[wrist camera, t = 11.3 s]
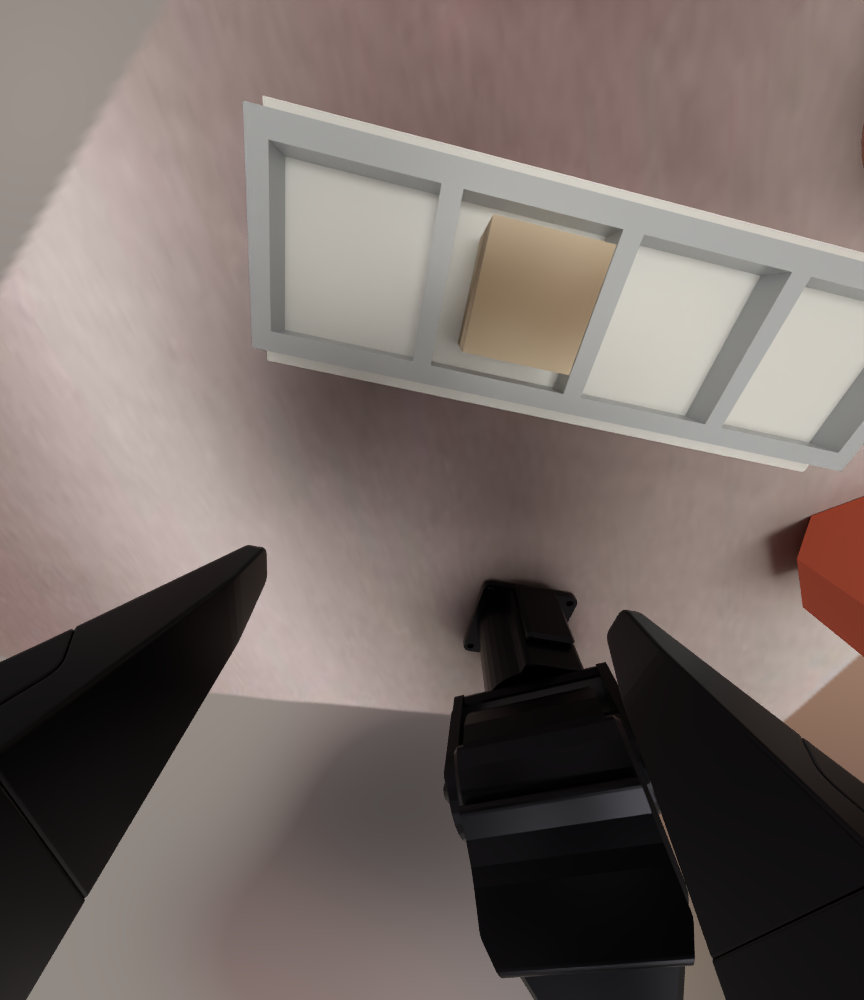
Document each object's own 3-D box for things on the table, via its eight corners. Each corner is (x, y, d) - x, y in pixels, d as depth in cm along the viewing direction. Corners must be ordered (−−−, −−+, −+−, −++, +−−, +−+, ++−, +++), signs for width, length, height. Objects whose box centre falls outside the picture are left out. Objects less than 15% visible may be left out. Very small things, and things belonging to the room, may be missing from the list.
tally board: (787, 465, 20) (831, 484, 18) (276, 358, 18) (252, 364, 15) (922, 278, 16) (1002, 271, 13) (274, 109, 14) (241, 69, 11)
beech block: (541, 361, 17) (569, 375, 13) (457, 343, 16) (462, 352, 13) (574, 260, 15) (616, 244, 11) (480, 237, 14) (493, 213, 11)
